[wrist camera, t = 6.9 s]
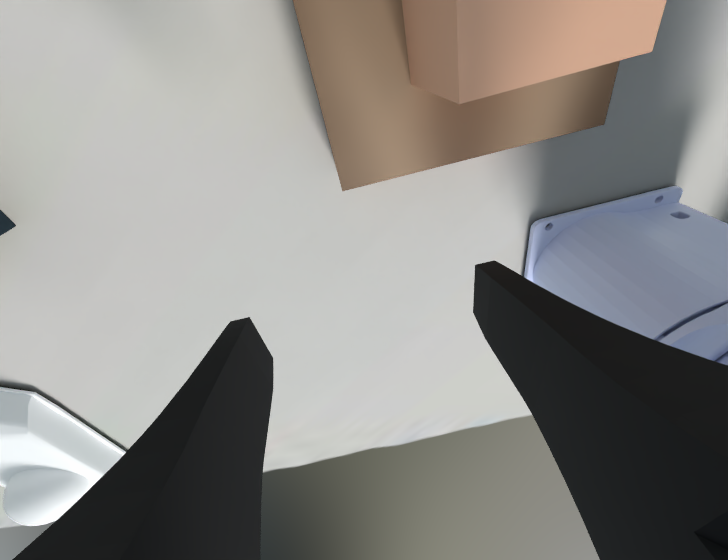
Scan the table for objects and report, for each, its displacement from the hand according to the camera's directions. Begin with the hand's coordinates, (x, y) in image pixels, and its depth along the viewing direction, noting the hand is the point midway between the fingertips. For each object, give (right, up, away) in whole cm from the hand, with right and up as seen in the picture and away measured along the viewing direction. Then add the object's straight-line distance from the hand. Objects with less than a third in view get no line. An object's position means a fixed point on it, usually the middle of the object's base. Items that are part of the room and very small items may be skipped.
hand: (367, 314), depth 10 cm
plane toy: (-26, -13, +18) cm, 35 cm away
